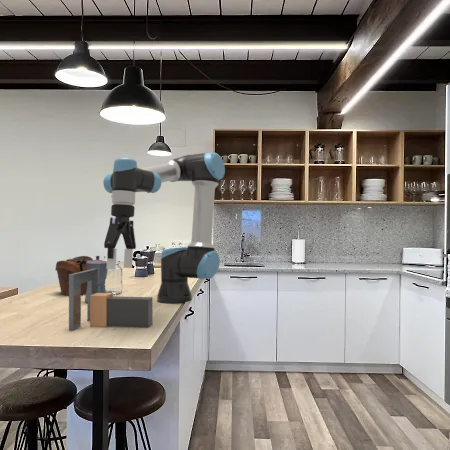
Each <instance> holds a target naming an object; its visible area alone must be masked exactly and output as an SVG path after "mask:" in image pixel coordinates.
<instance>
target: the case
mask: <svg viewBox="0 0 450 450" xmlns="http://www.w3.org/2000/svg"><path fill="white" fill-rule="evenodd" d="M83 259H84V260H87V261H92V260H94V259H93V258H92V257H90V256H88V255H81V256H76V257H73V258H68V259H66V260H65V259H64V260H58V261H57V262H56V264H55V271H56V274H57V279H58V284H59V288H60V289H59V290H60V293H61V295H63V296H69V274H73V273H78V272H81V270H80V263H81V262H82V261H83ZM82 267H83V271H86V270H87V269H86V265H85V264H82ZM86 291H87V282H85V283H81V296H82V295H86Z"/></svg>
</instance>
